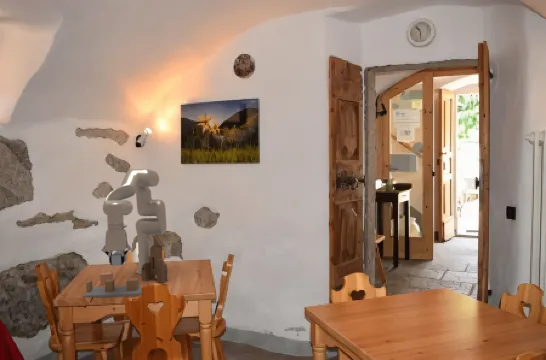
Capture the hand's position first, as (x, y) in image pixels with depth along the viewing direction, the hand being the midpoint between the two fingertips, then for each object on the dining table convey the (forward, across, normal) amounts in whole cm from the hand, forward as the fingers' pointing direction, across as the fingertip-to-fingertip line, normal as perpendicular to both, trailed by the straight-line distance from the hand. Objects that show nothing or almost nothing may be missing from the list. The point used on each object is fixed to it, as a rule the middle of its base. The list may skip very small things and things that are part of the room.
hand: (117, 263), depth 258 cm
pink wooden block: (+15, +11, -22) cm, 29 cm away
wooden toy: (+16, -14, -26) cm, 33 cm away
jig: (+15, +2, -5) cm, 16 cm away
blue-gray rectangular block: (0, 0, -5) cm, 5 cm away
